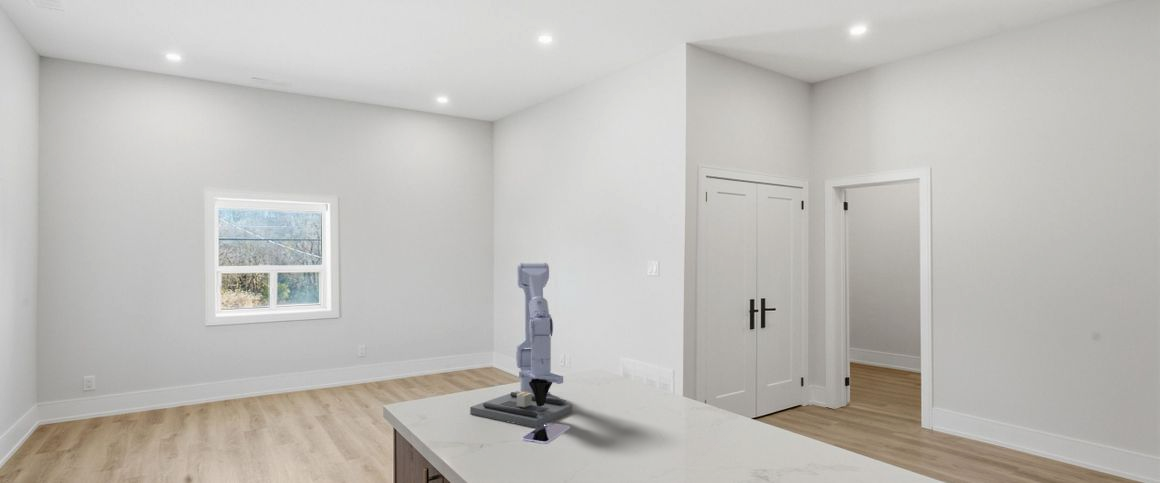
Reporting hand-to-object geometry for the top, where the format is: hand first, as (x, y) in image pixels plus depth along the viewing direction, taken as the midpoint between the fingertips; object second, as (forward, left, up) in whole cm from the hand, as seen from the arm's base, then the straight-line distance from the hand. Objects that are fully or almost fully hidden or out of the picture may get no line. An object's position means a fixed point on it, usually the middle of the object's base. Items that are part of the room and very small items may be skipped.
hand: (540, 405), depth 168 cm
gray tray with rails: (-1, -7, -1) cm, 7 cm away
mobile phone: (+11, +10, -4) cm, 15 cm away
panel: (0, -7, -3) cm, 8 cm away
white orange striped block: (0, -6, -1) cm, 6 cm away
